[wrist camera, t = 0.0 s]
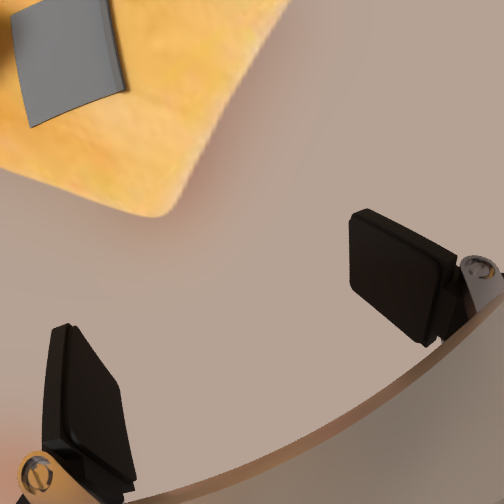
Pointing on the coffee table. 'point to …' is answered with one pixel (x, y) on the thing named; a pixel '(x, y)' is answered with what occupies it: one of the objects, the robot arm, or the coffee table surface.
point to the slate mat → (65, 56)
